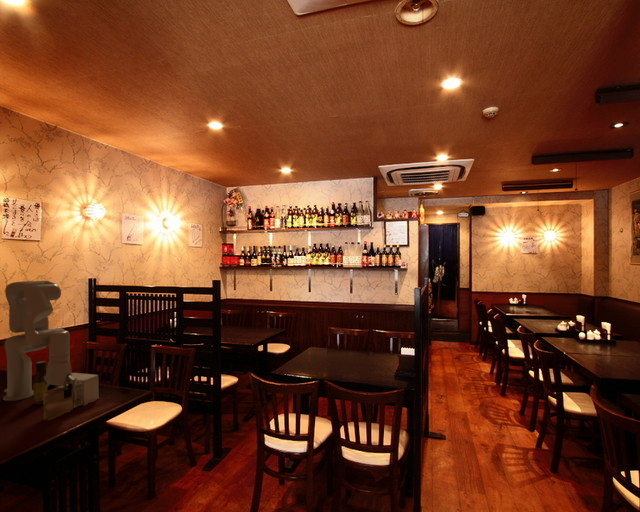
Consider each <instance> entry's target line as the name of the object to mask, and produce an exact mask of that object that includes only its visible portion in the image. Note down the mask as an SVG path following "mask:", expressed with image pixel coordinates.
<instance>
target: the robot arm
mask: <svg viewBox="0 0 640 512" xmlns="http://www.w3.org/2000/svg"><path fill="white" fill-rule="evenodd" d="M4 290H5V291H4V295H5V298H6V300H7V304H8V312H9V313H8V325H9V327H8V328H9V331H11V332H12V333H16V335H12V336H10V337H8V338H6V340H5V342H4V349H5V353H6V363H7V364H6V367H7V369H6V375H7V378H6V379H7V381H6V382H7V388H5V389H4V391H3V392H4V393H6V395H4V396H3V398H2V399H3V401H4V402H15V401H20V400H25V399H28V398H31V397H32V396H33V397H34V389H33V385H32V384H33V379H32V377H33V375H32V374H33V371H32V367H33V366H32V365H33V364H32V359H31V357H30V356H28V355H27V353H30V352H36V351H41V350H43V349H46V348H47V347H48V350H49V351H48V353H49V355H48V361H47V364H46V376H44V380H45V383H46V387H48V388H47V391H49V390H51V389H54V388H56V386H62V385H63V386H64V388H65V390H64V399H66V398H69V397H71V396H72V388H73V386H74V383H75V381H76V379H75V378H73V377H72V373H73V371H72V365H71V356H70V355H71V354H70V353H71V352H70V351H71V349H70V348H71V333H70V331H69V330H65V329H64V328H62V327H56V328H49V327H50V326H49V316H50V315H52V313H53V311H54V308H53V306H52V303H51V301H57V300H59V299H60V298H61V297H62V296H61V295H62V290H61V288H60V286H59V284H57V283H55V282H52V281H49V280H28V281H14V282H11V283H8V284H7V285H6V287H5V289H4ZM17 333H21V334H17ZM22 333H23V334H22ZM66 384H68V386H67V385H66Z"/></svg>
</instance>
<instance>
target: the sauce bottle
mask: <svg viewBox="0 0 640 512" xmlns="http://www.w3.org/2000/svg"><path fill="white" fill-rule="evenodd" d="M35 369H36V372H35V374H34V375H33V382H32V384H33V385H32V388H33V390H34V395H33V402H34V403H33V404H35V405H43V392H46V391H47V388H48V387H46V383H45V380H44V376H46V371H47V361H46V360H42V361H36V362H35Z"/></svg>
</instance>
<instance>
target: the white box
mask: <svg viewBox="0 0 640 512" xmlns="http://www.w3.org/2000/svg"><path fill="white" fill-rule="evenodd" d="M72 377H73V378H75V379H76V381H75V383H74V386H75V385H77V383H82V389H80V390H77V391H75V392H73V402H75V401H77V398H78V399H83V404H82V405H81V406H87V405H88V403H89V404H90V402H91V403H93V402H96V401H98V400H99V398H100V397H99V377H100V376H99V374H91V373H81V372H72ZM58 387H60V386H58ZM97 399H98V400H97ZM77 408H78V406H77V407H75V408H74V409H77Z"/></svg>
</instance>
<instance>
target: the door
mask: <svg viewBox="0 0 640 512" xmlns="http://www.w3.org/2000/svg"><path fill="white" fill-rule="evenodd" d="M66 385H67V386H68V384H66ZM80 389H82V383H77V385H75V386H73V388H72V396H71V397H69V398H66V399H64V390H65V388H64V386H63V385H62V386H60V387H55V388H54V389H51V390H49V391H46V392H43V404H42V405H43V420H44V421H48V422H49V421H51V420H53V419H56V418H58V417H60V416H62V414H63V415H64V413H65V414H66V412H67V413H69V412H72V411H74V409H76V408H75V407H77V408H78V407H79V406H83V405H82V404H83V399H78V398H77V401H75V402H73V392H75V391H77V390H80ZM71 410H72V411H71Z"/></svg>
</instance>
